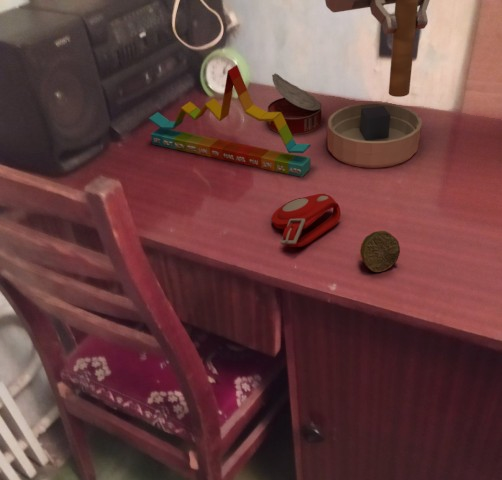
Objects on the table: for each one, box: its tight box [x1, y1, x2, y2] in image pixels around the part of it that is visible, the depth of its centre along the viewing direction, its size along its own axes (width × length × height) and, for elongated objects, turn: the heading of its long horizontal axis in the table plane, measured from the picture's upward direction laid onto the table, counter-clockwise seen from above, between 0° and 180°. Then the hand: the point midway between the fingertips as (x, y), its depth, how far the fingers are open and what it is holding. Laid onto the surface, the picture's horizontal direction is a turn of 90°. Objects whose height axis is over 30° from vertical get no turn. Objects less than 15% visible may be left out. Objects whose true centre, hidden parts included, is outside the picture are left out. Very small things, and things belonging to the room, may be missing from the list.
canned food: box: [267, 73, 323, 136], centre depth 107 cm, size 11×10×10 cm
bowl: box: [326, 102, 423, 169], centre depth 98 cm, size 15×15×4 cm
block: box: [360, 106, 390, 141], centre depth 100 cm, size 4×4×4 cm
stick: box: [388, 0, 419, 98], centre depth 82 cm, size 3×3×16 cm
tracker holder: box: [271, 193, 341, 248], centre depth 82 cm, size 12×4×10 cm
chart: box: [148, 64, 311, 178], centre depth 96 cm, size 30×3×15 cm, turn 60°
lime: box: [359, 230, 401, 273], centre depth 75 cm, size 4×5×5 cm
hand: (406, 29), depth 81 cm, fingers closed on stick, 3 cm apart
